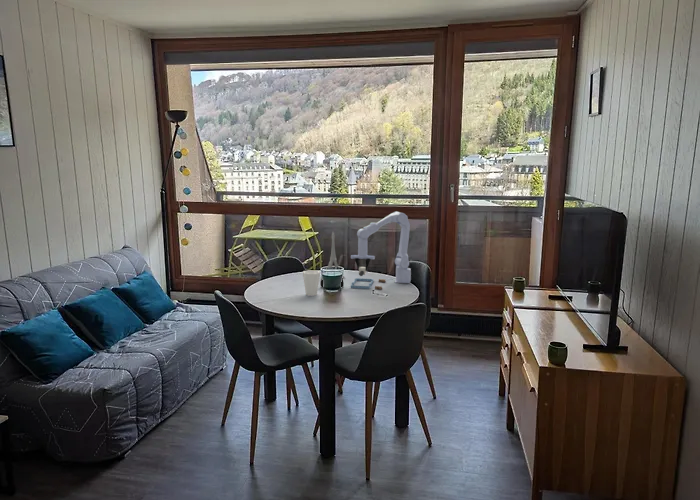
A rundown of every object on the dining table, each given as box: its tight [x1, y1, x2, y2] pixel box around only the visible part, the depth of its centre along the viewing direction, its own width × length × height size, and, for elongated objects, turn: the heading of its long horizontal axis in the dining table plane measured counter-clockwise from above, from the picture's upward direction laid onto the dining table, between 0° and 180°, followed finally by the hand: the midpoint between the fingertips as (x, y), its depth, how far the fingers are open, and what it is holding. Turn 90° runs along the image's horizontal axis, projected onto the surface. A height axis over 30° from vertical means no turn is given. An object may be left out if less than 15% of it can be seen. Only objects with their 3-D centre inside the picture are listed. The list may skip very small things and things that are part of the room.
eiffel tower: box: [327, 231, 345, 280], centre depth 324 cm, size 13×13×30 cm
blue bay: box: [350, 277, 375, 290], centre depth 306 cm, size 11×19×2 cm, turn 170°
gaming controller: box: [319, 277, 345, 288], centre depth 299 cm, size 14×6×10 cm, turn 84°
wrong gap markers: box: [374, 278, 386, 291], centre depth 304 cm, size 4×20×2 cm, turn 170°
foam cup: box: [302, 269, 321, 297], centre depth 282 cm, size 10×9×13 cm
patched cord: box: [358, 266, 367, 277], centre depth 305 cm, size 4×12×4 cm, turn 170°
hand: (362, 270), depth 305 cm, fingers closed on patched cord, 4 cm apart
